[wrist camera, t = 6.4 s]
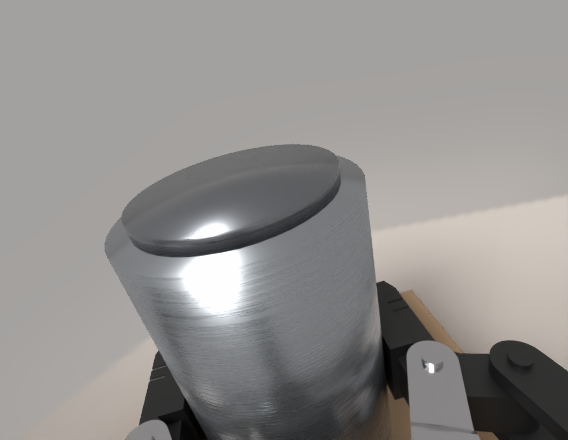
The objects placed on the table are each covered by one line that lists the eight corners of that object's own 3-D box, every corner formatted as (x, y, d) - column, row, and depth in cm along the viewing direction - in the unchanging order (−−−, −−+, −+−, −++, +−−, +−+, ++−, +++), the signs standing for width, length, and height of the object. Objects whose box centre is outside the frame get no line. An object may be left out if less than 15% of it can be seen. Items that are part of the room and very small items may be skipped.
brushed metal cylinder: (275, 629, 12) (35, 296, 5) (260, 455, 17) (134, 173, 10) (430, 578, 12) (422, 192, 5) (368, 422, 17) (321, 125, 10)
